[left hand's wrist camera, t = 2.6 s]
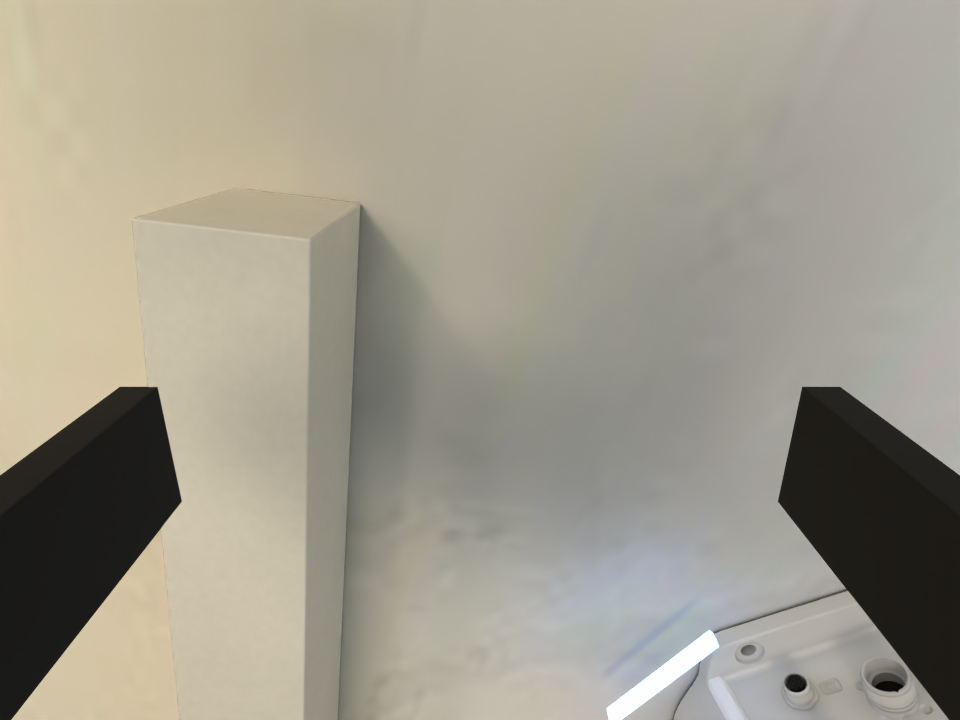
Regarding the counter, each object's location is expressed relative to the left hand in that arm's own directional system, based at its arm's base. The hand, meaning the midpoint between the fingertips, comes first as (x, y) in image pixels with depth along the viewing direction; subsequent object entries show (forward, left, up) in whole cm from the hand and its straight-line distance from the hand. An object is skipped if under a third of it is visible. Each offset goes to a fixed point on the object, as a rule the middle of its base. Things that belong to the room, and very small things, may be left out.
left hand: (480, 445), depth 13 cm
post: (+18, -24, -17) cm, 34 cm away
